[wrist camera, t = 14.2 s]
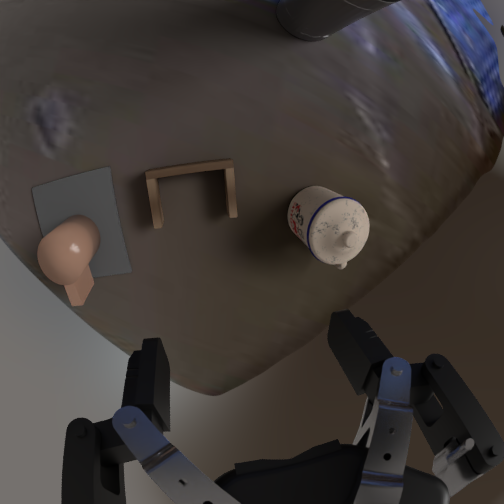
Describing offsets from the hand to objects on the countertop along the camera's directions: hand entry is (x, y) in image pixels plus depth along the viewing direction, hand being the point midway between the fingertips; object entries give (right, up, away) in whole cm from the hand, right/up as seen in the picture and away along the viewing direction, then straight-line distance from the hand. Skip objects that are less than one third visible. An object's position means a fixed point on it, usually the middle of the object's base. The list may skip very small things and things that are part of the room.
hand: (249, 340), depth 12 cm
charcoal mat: (-25, +7, +22) cm, 34 cm away
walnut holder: (-8, +12, +24) cm, 28 cm away
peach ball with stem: (-25, +5, +23) cm, 34 cm away
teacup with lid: (+10, +9, +30) cm, 33 cm away
